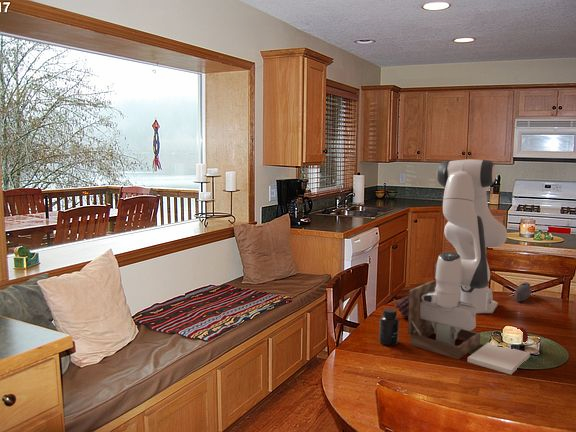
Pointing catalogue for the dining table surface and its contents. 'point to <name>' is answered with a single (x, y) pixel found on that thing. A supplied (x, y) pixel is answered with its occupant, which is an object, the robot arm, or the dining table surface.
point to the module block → (445, 333)
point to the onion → (525, 335)
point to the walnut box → (424, 328)
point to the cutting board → (498, 358)
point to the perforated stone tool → (522, 292)
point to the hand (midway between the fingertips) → (445, 336)
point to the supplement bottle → (389, 327)
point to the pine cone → (403, 306)
